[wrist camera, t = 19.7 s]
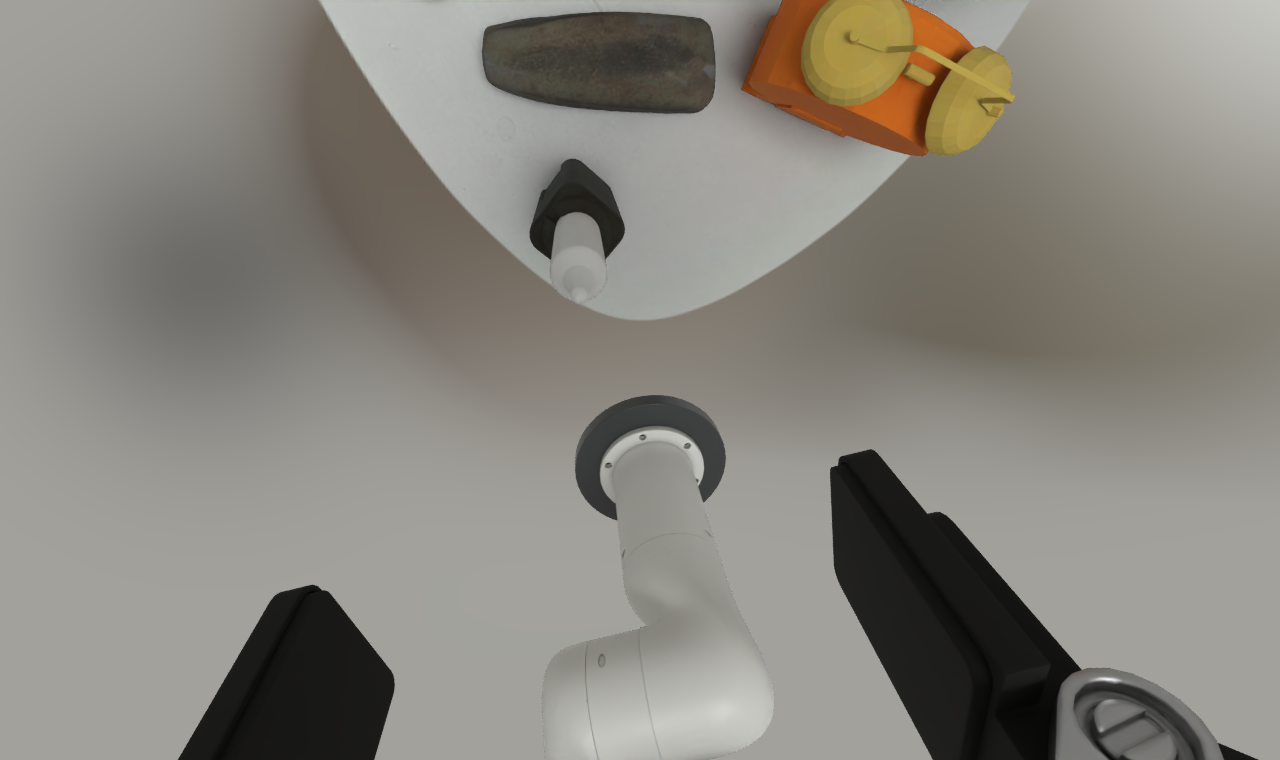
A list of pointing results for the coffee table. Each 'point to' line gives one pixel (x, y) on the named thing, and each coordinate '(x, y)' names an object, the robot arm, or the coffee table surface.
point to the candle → (577, 230)
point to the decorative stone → (605, 61)
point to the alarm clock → (880, 75)
